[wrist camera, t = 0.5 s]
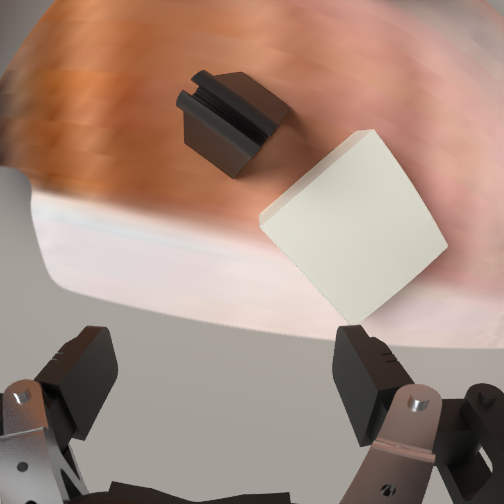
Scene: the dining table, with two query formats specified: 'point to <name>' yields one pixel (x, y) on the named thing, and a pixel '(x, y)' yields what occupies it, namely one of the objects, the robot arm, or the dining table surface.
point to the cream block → (355, 226)
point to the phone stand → (229, 118)
